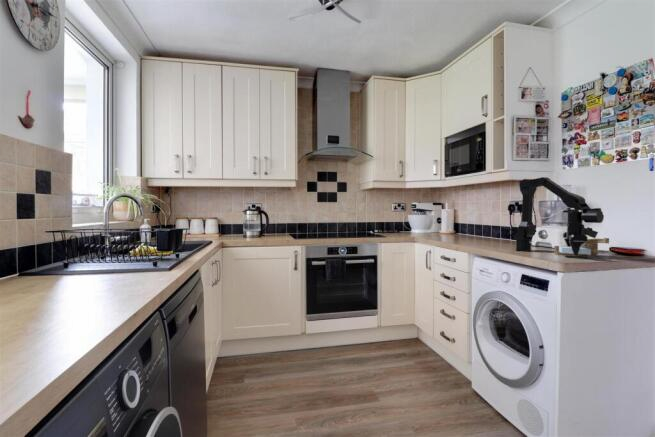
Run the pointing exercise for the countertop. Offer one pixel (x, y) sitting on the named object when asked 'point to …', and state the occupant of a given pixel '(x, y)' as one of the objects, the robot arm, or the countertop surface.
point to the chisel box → (589, 244)
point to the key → (602, 240)
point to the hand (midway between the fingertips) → (573, 254)
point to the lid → (569, 250)
